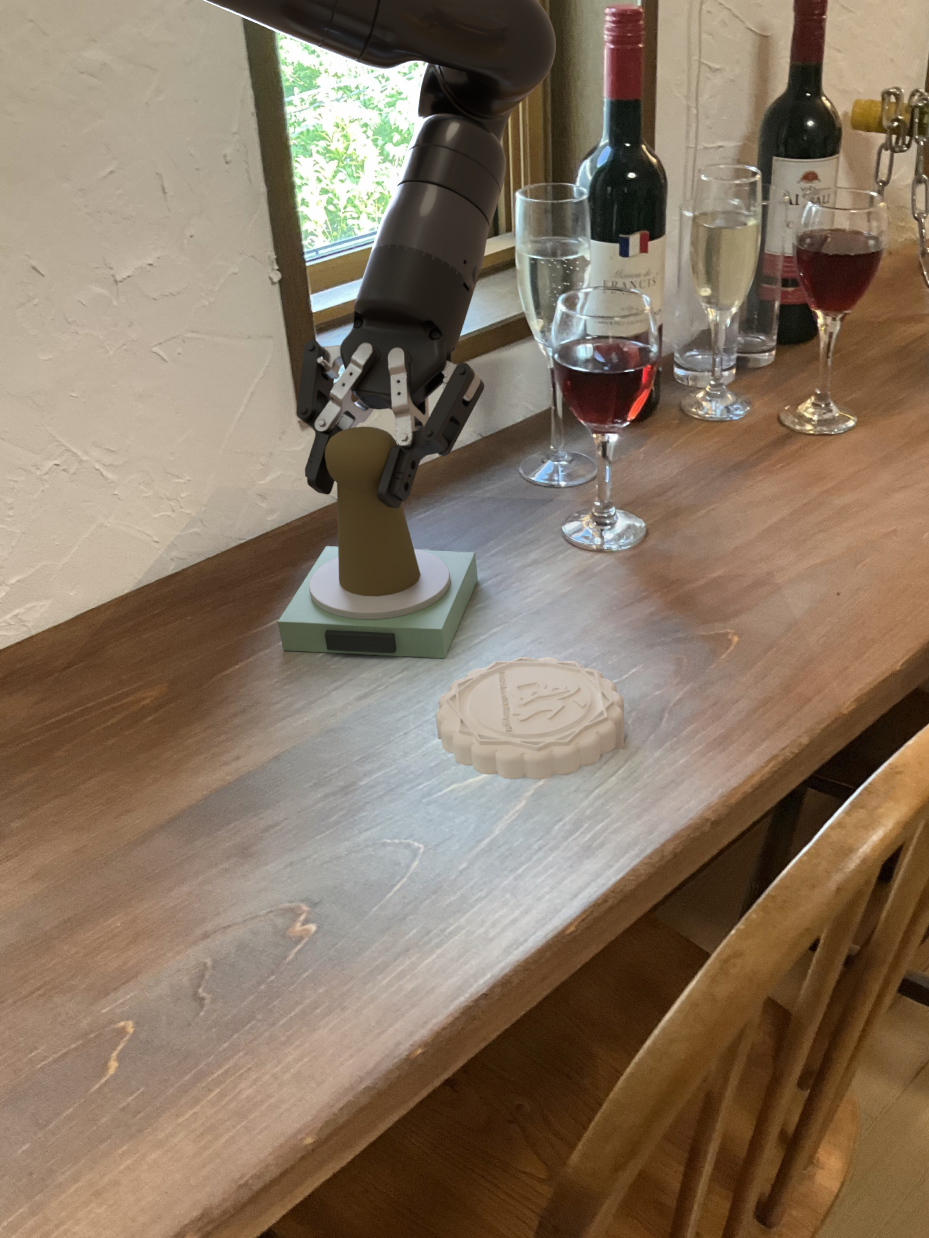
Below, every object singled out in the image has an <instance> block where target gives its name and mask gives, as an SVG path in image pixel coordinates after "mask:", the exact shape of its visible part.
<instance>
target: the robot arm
mask: <svg viewBox="0 0 929 1238" xmlns="http://www.w3.org/2000/svg"><path fill="white" fill-rule="evenodd" d="M203 1H204V2H207V3H209V4H212V5H214V6H216V7H219V8H221V9H223V10H226V11H228V12H231V13H232V14H235V15H238V16H240V17H242V18H244V19H247V20H249V21H251V22H254V23H256V24H258V25H260V26H263V27H264V28H267V29H269V30H271V31H274V32H276V33H279V34H281V35H284V36H286V37H287V38H291V39H293V40H296V41H298V42H300V43H303V44H306V45H308V46H310V47H312V48H316V49H318V50H320V51H322V52H326V53H329V54H331V55H334V56H336V57H338V58H340V59H341V58H342V59H344V60H346V61H348V62H352V63H355V64H357V65H360V66H362V67H364V68H368V69H372V70H376V71H381V72H390V71H393V70H396V69H398V68H401V67H402V66H405V65H407V64H410V63H414V62H415V63H417V62H418V63H419V62H421V63H424V69H423V72H422V77H421V81H420V85H419V92H418V98H417V105H416V111H415V117H414V132H413V135H412V138H411V140H410V142H409V145H408V146H407V150H406V153H405V156H404V159H403V163H402V165H401V169H400V171H399V175H398V178H397V181H396V184H395V187H394V190H393V193H392V195H391V198H390V200H389V202H388V204H387V206H386V208H385V210H384V213H383V215H382V217H381V220H380V223H379V226H378V229H377V232H376V235H375V238H374V242H373V244H372V248H371V250H370V251H371V252H370V254H369V257H368V260H367V264H366V266H365V270H364V273H363V275H362V280H361V283H360V285H359V289H358V292H357V295H356V298H355V301H354V305H353V324H352V328H351V329H350V331H349V332H348V334H347V335H346V336H345V338H343V339H342V340H341V341H342V342H341V344H335V345H325V346H324V345H322V344H321V343H320V342H318V341H317V339H309V340H308V341H306V342H305V344H304V346H303V354H302V361H301V362H302V363H301V371H300V378H299V379H300V380H299V386H298V387H299V388H298V395H297V405H296V412H295V413H296V416H297V418H298V419H299V420H300V421H302V422H303V423H305V424H306V425H307V426H308V427H309V428H310V429H312V430H313V431H314V439H313V442H312V445H311V447H310V451H309V455H308V458H307V461H306V464H305V467H304V477H305V478H306V482H307V486H309V487H310V488H311V489H312V490H314V491H315V492H316V493H318V494H322V495H327V496H329V495H330V494H331V493H332V491H333V487H334V486H335V485H334V484H335V483H336V481H335V480H334V479H333V478H332V477H331V476H330V474H329V472H328V469H327V465H326V460H325V448H326V446H327V444H328V441H329V440H330V438H331V437H332V436H334V435H335V434H337V433H338V432H340V431H343V430H345V429H349V428H354V427H358V425H359V424H363V423H365V422H366V421H368V418H369V417H370V416H371V414H372V413H373V412H374V410H378V411H380V410H391V411H392V413H393V415H394V419H395V440H396V442H397V447H393V446H391V449H390V452H389V455H388V459H387V462H386V465H385V468H384V472H383V475H382V478H381V481H380V484H379V488H378V491H377V497H378V499H379V500H380V501H381V502H382V503H384V504H385V505H386V506H387V507H391V508H396V509H397V508H399V507H400V505H401V502H402V503H403V502H404V503H405V502H406V501H407V500H408V498H409V497H410V495H411V492H412V487H413V486H414V482H415V478H416V476H417V472H418V470H419V466H420V463H421V461H422V460H424V459H425V458H426V457H427V456H430V455H436V454H438V455H439V456H441V457H445V456H448V455H449V454H450V453H451V452H452V451H453V448H454V447H455V445H456V442H457V441H458V439H459V437H460V436H461V433H462V431H463V429H464V428H465V425H466V424H467V422H468V421H469V418H470V417H471V414H472V413H473V411H474V409H475V407H476V406H477V403H478V401H479V400H480V398H481V396H482V394H483V392H484V390H485V383H484V381H483V379H481V378H480V376H479V375H478V373H477V372H476V370H474V369H473V367H471V365H469V364H468V363H467V362H460V363H455V362H453V360H452V353H453V352H455V350H456V349H457V347H458V345H459V341H460V337H461V334H462V331H463V328H464V325H465V322H466V318H467V315H468V312H469V309H470V306H471V302H472V299H473V295H474V293H475V290H476V287H477V286H476V285H477V283H478V281H479V278H480V273H481V269H482V267H483V263H484V260H485V259H484V258H485V253H486V247H487V242H488V241H487V240H488V236H489V232H490V229H491V226H492V222H493V220H494V217H495V213H496V210H497V206H498V203H499V199H500V197H501V193H502V189H503V185H504V182H505V178H506V170H507V158H506V154H505V149H504V148H503V145H502V138H503V135H504V132H505V129H506V127H507V124H508V121H509V119H510V117H511V115H512V113H513V111H514V110H515V109H516V108H517V107H518V105H520V104H521V103H523V101H524V100H525V99H527V97H528V96H529V95H531V94H532V93H533V91H534V90H536V89H537V88H538V87H539V86H540V85H541V84H542V83H543V81H544V80H545V79H546V78H547V76H548V74H549V72H551V71H550V70H551V69H552V67H553V64H554V61H555V58H556V51H557V49H556V48H557V43H556V41H557V39H556V33H555V30H554V26H553V24H552V21H551V19H550V17H549V15H548V13H547V12H546V10H545V8H544V7H543V5H542V4H541V3H540V2H539V1H538V0H203ZM342 366H343V368H344V371H343V373H342V374H341V375H340V373H339V372H340V369H341V367H342ZM335 380H337V381H336V383H335ZM334 383H335V384H334ZM441 386H442V392H441V394H440V395H439V397H438V400H437V401H436V403H435V405H434V406H433V409H432V411H431V412H429V411H430V409H429V408H430V406H429V397H430V396H431V395H432V394H433V393H434V392H435V391H436V390H438V389H439V388H440V387H441ZM353 395H354V396H355V397H356V398H358V399H357V400H356V401H355V402H354V401H353V399H352V396H353Z"/></svg>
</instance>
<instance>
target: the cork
mask: <svg viewBox="0 0 929 1238" xmlns="http://www.w3.org/2000/svg"><path fill="white" fill-rule="evenodd" d="M397 445H398V443H397V441H396V438H395V437H393V435H392V434H391V433H390V432H388V431H387V430H385V429H381V428H379V427H374V426H356V427H354V428H349V429H345V430H343V431H340V432H338V433H337V434H335V435H334V436H332V437H331V438H330V440H329V441H328V444H327V446H326V448H325V460H326V465H327V469H328V472H329V474H330V476H331V477H332V478H333V479H334V480H335V483H336V498H337V499H336V500H337V502H336V503H337V505H336V506H337V547H338V561H339V583H340V585H341V586H342V587H343V588H344V590H346V591H348V592H351V593H353V594H357V595H362V596H384V595H391V594H394V593H398V592H401V591H404V590H406V589H408V588H410V587H412V586H413V585H414V584H415V583H416V582H417V581H418V580H419V577H420V575H421V574H420V570H419V567H418V563H417V559H416V555H415V552H414V549H415V548H414V545H413V540H412V537H411V533H410V529H409V526H408V521H407V518H406V515H405V511H404V506H403V501H402V502H401V505H400V507H399V508H397V509H396V508H391V507H387V506H386V505H385V504H384V503H382V502H381V501H380V500H379V499H378V497H377V491H378V488H379V484H380V481H381V478H382V475H383V472H384V468H385V465H386V462H387V459H388V455H389V452H390V449H391V446H393V447H397Z"/></svg>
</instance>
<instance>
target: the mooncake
mask: <svg viewBox="0 0 929 1238" xmlns="http://www.w3.org/2000/svg"><path fill="white" fill-rule="evenodd" d="M438 707H439V708H438V709H437V711H436V712H435V723H436V731H437V739H438V740H441V746H442V749H443V750H444V751H445V752H447V753H449V754H453V757H454V760H455V762H456V763H458V764H460V765H464V766H472V768H473V769H474V771H475V772H477V773H479V774H481V775H494V774H497V775H498V776H499V777H501V778H503V779H507V780H517V779H522V778H524V777H526V778H529V779H532V780H543V779H546V778H549V777H551V776H552V775H554V774H555V775H569V774H572V773H574V772H576V771H578V769H579V768H580V767H581V766H582V767H583V766H584V767H585V766H590V765H594V764H596V763H598V762H599V760H601V758H602V757H601V756H602V754H607V753H609V752H611V751H613V750H624V747H625V699H624V697H623V696H622V694H620V693H619V692H618V688H617V685H616V684H615V682H614V681H613V680H610V679H608V678H604V676H603V674H602V673H601V672H600V671H599V670H597V669H595V668H590V667H584V666H583V665H582V664H581V663H580V662H577V661H575V660H565V661H560V660H559V659H557V658H555V657H551V656H545V657H540V658H538V659H537V658H533V657H527V656H521V657H517V658H515V659H513V660H511V661H510V660H507V661H506V660H496V661H494V662H492V663H490V664H488V665H487V666H486V667H479V668H474V669H472V670H471V671H469V672H467V674H466V675H465V678H464V677H463V678H459V679H456V680H454V681H453V682H452V683H451V684H450V685H449V688H448V691H446V692H444V693H443V694H442V695H441V696H440V697H439V700H438Z"/></svg>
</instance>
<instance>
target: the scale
mask: <svg viewBox="0 0 929 1238" xmlns="http://www.w3.org/2000/svg"><path fill="white" fill-rule="evenodd" d="M414 552H415V555H416V559H417V563H418V567H419V570H420V574H421V575H420V577H419V580H418V581H417V582H416V583H415V584H414V585H413V586H412V587H410V588H408V589H406V590H404V591H401V592H398V593H394V594H391V595H384V596H362V595H357V594H353V593H351V592H348V591H346V590H344V588H343V587H342V586H341V585H340V583H339V561H338V546H329V545H326V546H325V547H324V549H323V550H322V552H321V553H320V555H319V556H318V557H317V559H316V561H315V563H314V564H313V566H312V567H311V568H310V570H309V571H308V573H307V575H306V576H305V578H304V580H302V582H301V584H300V586H299V588H298V589H297V591H296V592H295V594H294V595H293V597H292V598H291V600H290V601H289V603H288V605H287V606H286V608H285V610H284V611H283V612H282V614H281V616H280V617H279V619H278V620H277V625H278V630H279V636H280V641H281V645H282V650H283V651H288V652H289V651H290V652H291V651H292V652H310V653H328V654H329V653H330V654H347V655H348V654H349V655H351V654H352V655H371V656H391V657H409V658H410V657H411V658H431V659H446V657H447V655H448V653H449V650H450V647H451V644H452V643H453V640H454V638H455V635H456V633H457V630H458V628H459V625H460V623H461V621H462V618H463V616H464V614H465V611H466V609H467V607H468V604H469V602H470V599H471V596H472V594H473V592H474V590H475V587H476V586H477V585H476V584H477V582H478V581H479V580H478V579H479V577H478V567H477V557H476V555H477V554H476V552H474V551H453V550H452V551H451V550H450V551H449V550H431V549H430V550H429V549H427V550H426V549H417V548H414Z"/></svg>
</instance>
